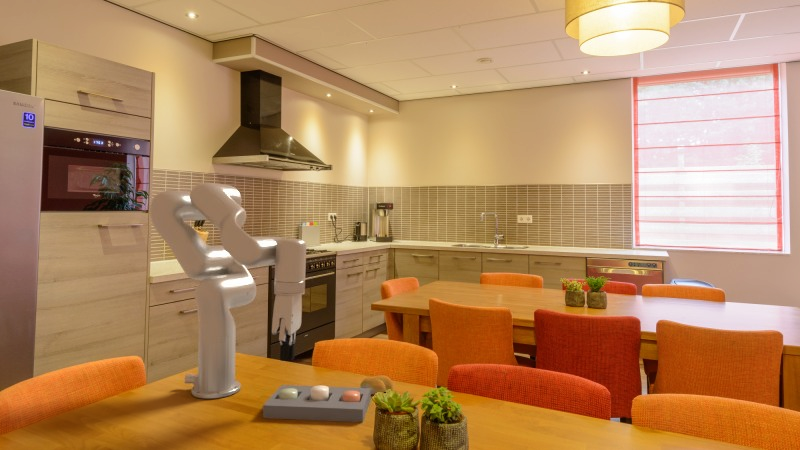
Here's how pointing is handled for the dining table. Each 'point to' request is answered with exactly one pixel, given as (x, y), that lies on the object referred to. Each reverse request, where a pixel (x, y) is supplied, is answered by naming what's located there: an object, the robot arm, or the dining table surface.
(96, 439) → the dining table surface
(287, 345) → the robot arm
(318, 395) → the white button
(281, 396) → the sage button
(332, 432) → the dining table surface
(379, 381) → the bread roll
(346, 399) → the terracotta button
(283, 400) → the button panel
